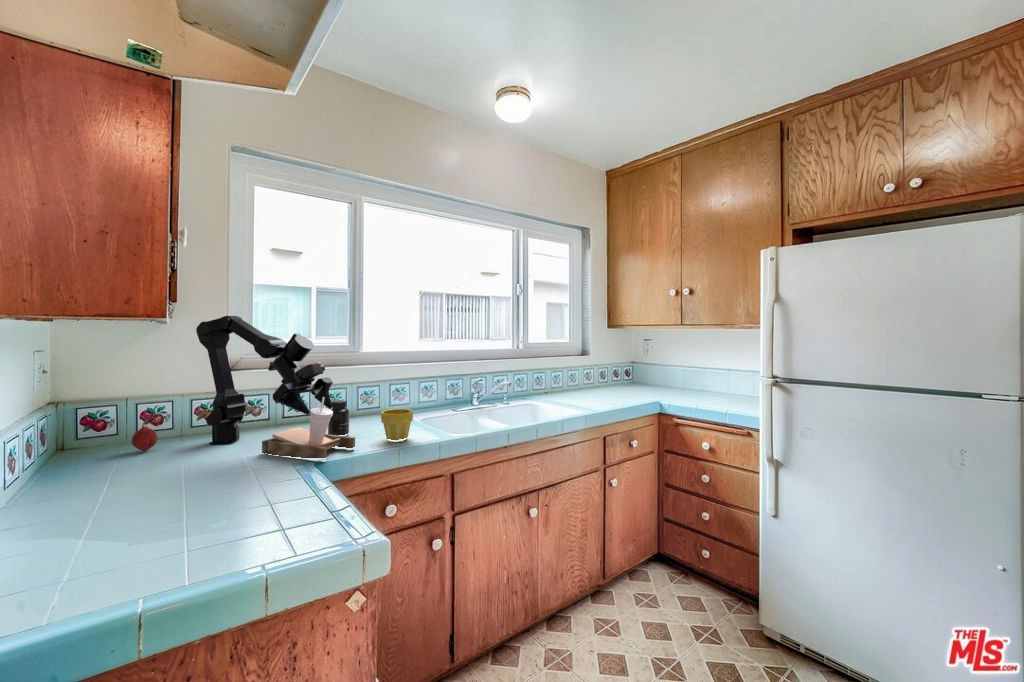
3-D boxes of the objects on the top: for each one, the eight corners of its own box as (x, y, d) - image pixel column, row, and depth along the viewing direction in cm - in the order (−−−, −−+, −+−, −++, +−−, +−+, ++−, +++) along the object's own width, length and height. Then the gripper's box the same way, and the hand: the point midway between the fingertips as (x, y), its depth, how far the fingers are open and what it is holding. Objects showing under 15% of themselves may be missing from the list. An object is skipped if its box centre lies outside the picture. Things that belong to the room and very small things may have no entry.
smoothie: (300, 443, 124) (308, 397, 122) (309, 435, 130) (318, 392, 129) (322, 447, 124) (331, 402, 123) (330, 440, 130) (339, 396, 129)
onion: (162, 449, 129) (162, 422, 128) (144, 454, 123) (144, 427, 123) (145, 448, 129) (145, 422, 129) (126, 453, 123) (126, 426, 123)
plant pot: (378, 437, 146) (379, 409, 146) (409, 435, 150) (409, 407, 150) (383, 445, 137) (383, 415, 136) (415, 442, 141) (415, 413, 141)
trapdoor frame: (262, 454, 125) (262, 441, 125) (297, 443, 138) (297, 430, 137) (323, 462, 118) (323, 448, 118) (354, 450, 131) (354, 437, 131)
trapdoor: (270, 446, 126) (273, 430, 125) (296, 438, 135) (299, 423, 135) (313, 463, 121) (316, 447, 121) (337, 454, 131) (340, 438, 130)
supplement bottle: (344, 438, 144) (344, 403, 144) (324, 438, 145) (324, 402, 144) (352, 433, 151) (352, 399, 151) (333, 433, 151) (333, 399, 151)
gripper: (280, 355, 119) (312, 397, 116) (328, 352, 136) (357, 388, 133) (258, 382, 121) (289, 423, 118) (308, 375, 139) (336, 411, 136)
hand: (320, 410), depth 126 cm, fingers open, 9 cm apart
